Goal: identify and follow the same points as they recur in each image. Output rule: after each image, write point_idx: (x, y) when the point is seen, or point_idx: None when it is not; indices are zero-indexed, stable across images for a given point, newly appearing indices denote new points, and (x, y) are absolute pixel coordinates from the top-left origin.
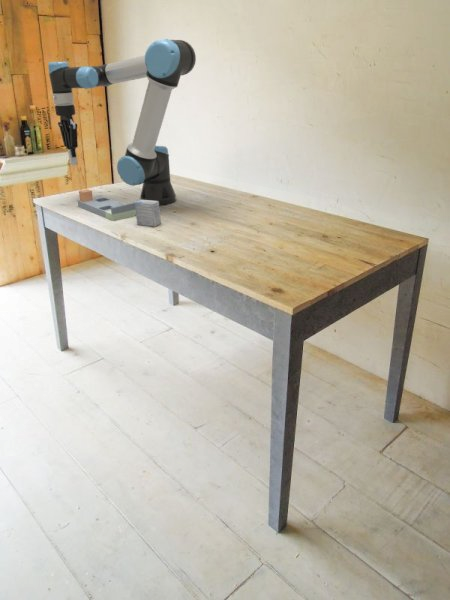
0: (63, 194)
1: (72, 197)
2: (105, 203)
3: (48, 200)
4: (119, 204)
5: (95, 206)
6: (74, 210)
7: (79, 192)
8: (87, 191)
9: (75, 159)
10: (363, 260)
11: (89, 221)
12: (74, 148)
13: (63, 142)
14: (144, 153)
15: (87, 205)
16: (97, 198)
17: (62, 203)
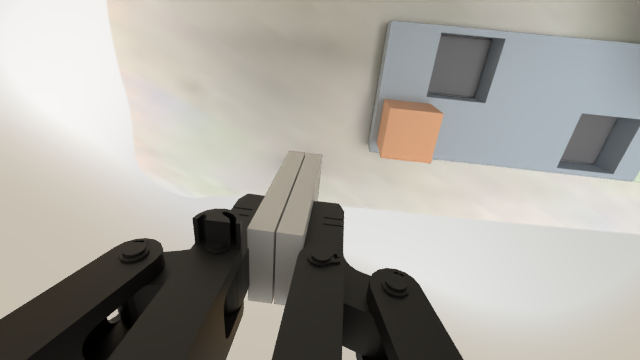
0: (119, 68)
1: (203, 73)
2: (536, 101)
3: (183, 164)
4: (627, 67)
5: (528, 160)
6: (403, 183)
7: (386, 156)
8: (432, 136)
9: (316, 186)
10: None
11: (574, 228)
12: (353, 279)
13: (94, 353)
14: None
15: (464, 161)
16: (420, 68)
17: (269, 156)
